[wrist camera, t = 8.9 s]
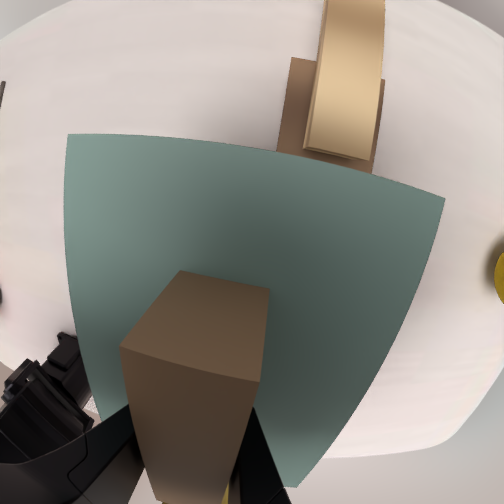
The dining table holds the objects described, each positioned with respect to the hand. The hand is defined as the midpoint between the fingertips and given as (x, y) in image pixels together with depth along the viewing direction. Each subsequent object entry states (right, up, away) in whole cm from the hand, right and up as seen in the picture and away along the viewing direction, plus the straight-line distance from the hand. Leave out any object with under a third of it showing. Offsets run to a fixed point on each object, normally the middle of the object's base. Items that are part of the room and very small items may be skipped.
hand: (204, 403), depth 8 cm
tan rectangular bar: (+6, +15, +2) cm, 17 cm away
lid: (0, 0, +2) cm, 2 cm away
